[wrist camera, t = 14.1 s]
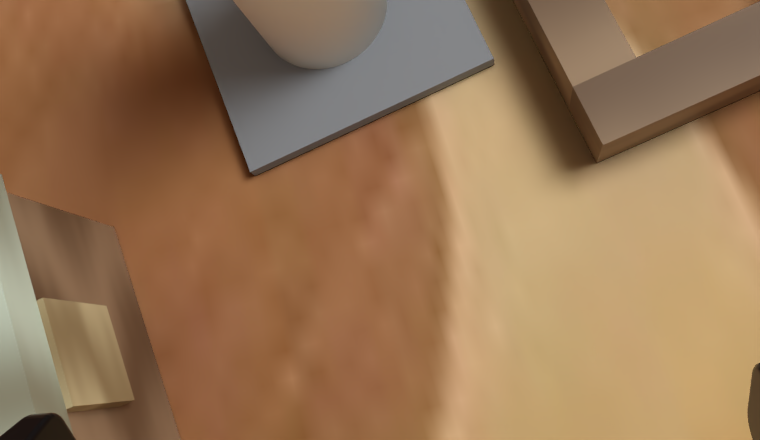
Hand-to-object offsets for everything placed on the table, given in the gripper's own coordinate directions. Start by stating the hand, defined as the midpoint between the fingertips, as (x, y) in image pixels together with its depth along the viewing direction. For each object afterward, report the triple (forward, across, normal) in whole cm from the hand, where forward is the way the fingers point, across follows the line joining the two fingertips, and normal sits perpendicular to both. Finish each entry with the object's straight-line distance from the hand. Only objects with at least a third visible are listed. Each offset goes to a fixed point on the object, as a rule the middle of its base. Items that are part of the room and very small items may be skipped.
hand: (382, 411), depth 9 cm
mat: (+19, +4, 0) cm, 19 cm away
